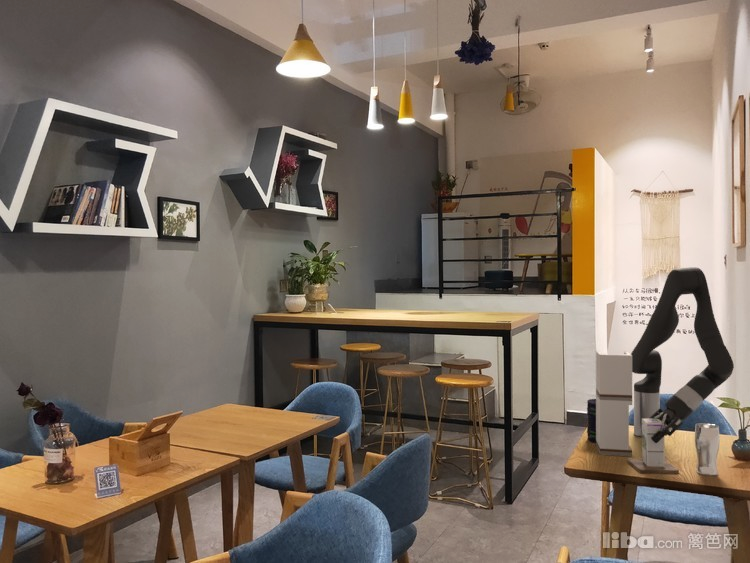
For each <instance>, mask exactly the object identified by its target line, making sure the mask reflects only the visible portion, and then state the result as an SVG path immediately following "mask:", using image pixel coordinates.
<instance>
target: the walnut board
mask: <svg viewBox="0 0 750 563" xmlns="http://www.w3.org/2000/svg"><path fill="white" fill-rule="evenodd" d="M626 463H627V464H629V466H631V467H633V468H634V469H635V470H636V471H637V472H638V473H639V474H678V473H679V474H680V470H679V469H678V468H676V467H675V466H674V465H672V464H671V463H669V462H668V461H666V460H665V467H648V466H646V465H645V464H644V463H643V461H642V458H626Z"/></svg>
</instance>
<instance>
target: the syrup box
mask: <svg viewBox="0 0 750 563" xmlns="http://www.w3.org/2000/svg"><path fill="white" fill-rule="evenodd" d="M661 424H662V421H660V420H659V419H653V418H646V419H642V437H641V451H642V452H641V453H642V454H641V456H642V457H641V459H642V461H643V463H644V464H645V465H646V466H648V467H665V461H666V459H665V456H666V455H665V452H666V451H665V436H664V437H663V438H662V439H661V440H660V441H659V442H658V443H655V442H654V441H653V440H652V439H651V437H652V436H653V435H654V434H655V433H657V432H658V431H660V428H661Z"/></svg>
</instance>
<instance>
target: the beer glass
mask: <svg viewBox="0 0 750 563" xmlns="http://www.w3.org/2000/svg"><path fill="white" fill-rule="evenodd" d="M694 429H695V430H694V445H695V450H696V456H697V465H696V470H695V471H696V473H698V474H699V475H703V476H711V477H712V476H713V477H715V476H718V475H719V474H718V473H719V471H718V468H717V466H718V465H717V459H718V455H719V454H718V453H719V450H720V426H719V425H716V424H713V423H705V422H704V423H703V422H702V423H701V422H700V423H695V426H694Z"/></svg>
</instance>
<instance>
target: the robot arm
mask: <svg viewBox="0 0 750 563" xmlns="http://www.w3.org/2000/svg"><path fill="white" fill-rule="evenodd" d="M665 279H666V280H665V282H664V285H663V288H662V292H661V294H660V297H659V300H658V302H657V304H656V307H655V309H654V311H653V312H652V315H651V317H650V318H649V321H648V323H647V325H646V327H645V330H644V332H643V333H642V335H641V337H640V339H639V340H638V342H637V343H636V345H635V346H634V348H633V349H632V351H631V353H630V354H631V355H632V374H636V375H637V374H638V375H645V377H644V378H642V379H641V380H639V381H636V382H634V384H633V434H634V435H635V436H637V437H640V438H642V419H646V418H653V419H659V420H660V421H662V424H661V428H660V431H658V432H657V433H655V434H654V435H653V436H652V437H651V439H652V440H653V441H654V442H655V443H658V442H659V441H660V440H661V439H662V438H663V437H664V438H665V437H666V436H669V437H670V436H672V435H674V433H675V432H676V431H677V430H678V429H679V428H680V427H681V426H682V425H683V421H685V420H687V418H689V417H690V416H691V415H692V414H693V413H694V412H695V411H696V410H697V409H698V408H699V407H700V406H701V405H702V404H703V402H704V401H705V400H706V399H707V398H708V397H709V396H710V395H711V394H712V393H713V392H714V391H715V389H717V388H718V387H720V386H721V385H722V384H723V383H724V382H726V381H727V380H728V379H729V378H730V377H731V375H732V374H733V371H734V368H735V367H734V366H735V365H734V362H733V361H734V360H733V359H732V356H731V354H730V352H729V350H728V348H727V346H726V345H725V343H724V339H723V337H722V335H721V334H722V333H721V331H720V329H719V327H718V326H719V325H717V321H716V318H715V315H714V311H713V306H712V299H711V295H710V292H709V286H708V282H707V278H706V275H705V273H704V271H703V270H702V268H699V267H696V266H695V267H693V266H692V267H677V268H674V269H671V271H670V272H669V273H668V275H667V276H666V278H665ZM683 295H693V297H694V299H695V301H696V312H695V316H694V321H693V322H694V323H693V327H694V333H695V337H696V339H697V342H698V344H699V346H700V348H701V349H702V351H703V352H704V354H705V358H706V360H707V364H708V365H706V367H705V368H704V369H703V370H702V371H700V372H699V374H696V375H694V376H693V377H692V378H691V379H690V380H689V381H688V382H687V383H686V384H685V385H684V386H682V387H681V388H679V389H678V390H677V391H676V392H675V393H674V394H673V395H672V396H671V397H670V398H669V399H668V400H667V401H666V402H664V406H665V408H666V409H665V410H663V409H662V408H661V407H660V405H661V404H660V401H661V397H660V394H661V393H660V391H661V390H660V389H661V384H662V371H663V369H662V368H663V367H662V366H663V361H662V356H661V354H660V351H657V350H655V349H657V348H658V347H660V346H661V345H663V344H664V343H665V342H667V341H668V340H669V339H671V337H672V336H673V335H674V333H675V331H676V330H677V327H678V326H679V324H680V318H679V317H680V316H679V313H678V311H677V308H676V304H677V302H678V300H679V298H680V297H681V296H683Z"/></svg>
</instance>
